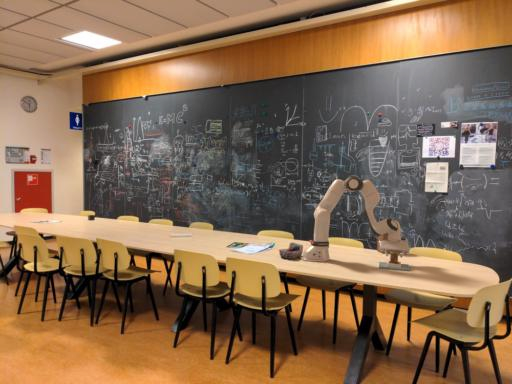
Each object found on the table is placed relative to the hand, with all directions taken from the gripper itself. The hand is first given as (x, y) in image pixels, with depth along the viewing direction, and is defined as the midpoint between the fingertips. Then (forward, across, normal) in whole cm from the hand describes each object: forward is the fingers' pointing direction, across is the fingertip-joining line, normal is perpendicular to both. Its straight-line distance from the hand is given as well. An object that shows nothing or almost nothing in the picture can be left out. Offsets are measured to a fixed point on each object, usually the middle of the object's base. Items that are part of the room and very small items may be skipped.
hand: (394, 256), depth 269 cm
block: (-32, -6, +43) cm, 54 cm away
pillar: (+5, 0, +4) cm, 6 cm away
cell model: (+5, -75, +6) cm, 75 cm away
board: (+6, 0, +5) cm, 8 cm away
